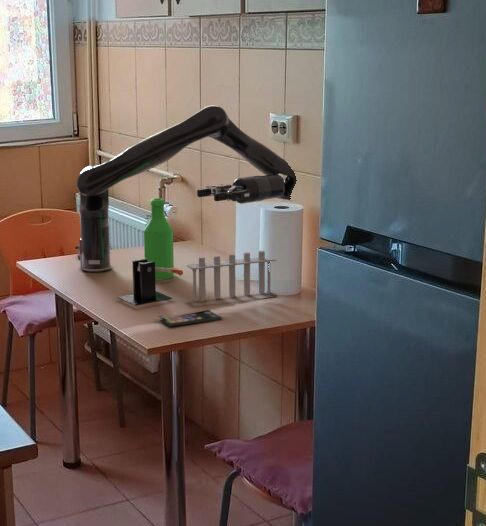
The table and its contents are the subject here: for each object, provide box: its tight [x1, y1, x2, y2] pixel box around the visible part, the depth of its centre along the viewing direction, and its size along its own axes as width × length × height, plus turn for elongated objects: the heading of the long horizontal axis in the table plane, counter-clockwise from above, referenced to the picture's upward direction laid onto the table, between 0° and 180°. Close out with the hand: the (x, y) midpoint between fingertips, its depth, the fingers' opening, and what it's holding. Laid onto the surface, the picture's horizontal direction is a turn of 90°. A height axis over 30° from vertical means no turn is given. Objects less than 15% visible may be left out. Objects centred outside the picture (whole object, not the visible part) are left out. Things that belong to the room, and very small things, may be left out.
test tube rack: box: [186, 250, 278, 302], centre depth 258 cm, size 25×4×13 cm, turn 105°
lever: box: [137, 262, 184, 276], centre depth 262 cm, size 13×5×2 cm, turn 119°
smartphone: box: [157, 309, 222, 327], centre depth 243 cm, size 8×15×1 cm, turn 113°
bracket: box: [117, 257, 173, 307], centre depth 260 cm, size 12×10×12 cm
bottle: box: [143, 197, 175, 281], centre depth 281 cm, size 9×9×25 cm
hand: (206, 195), depth 264 cm, fingers open, 8 cm apart
